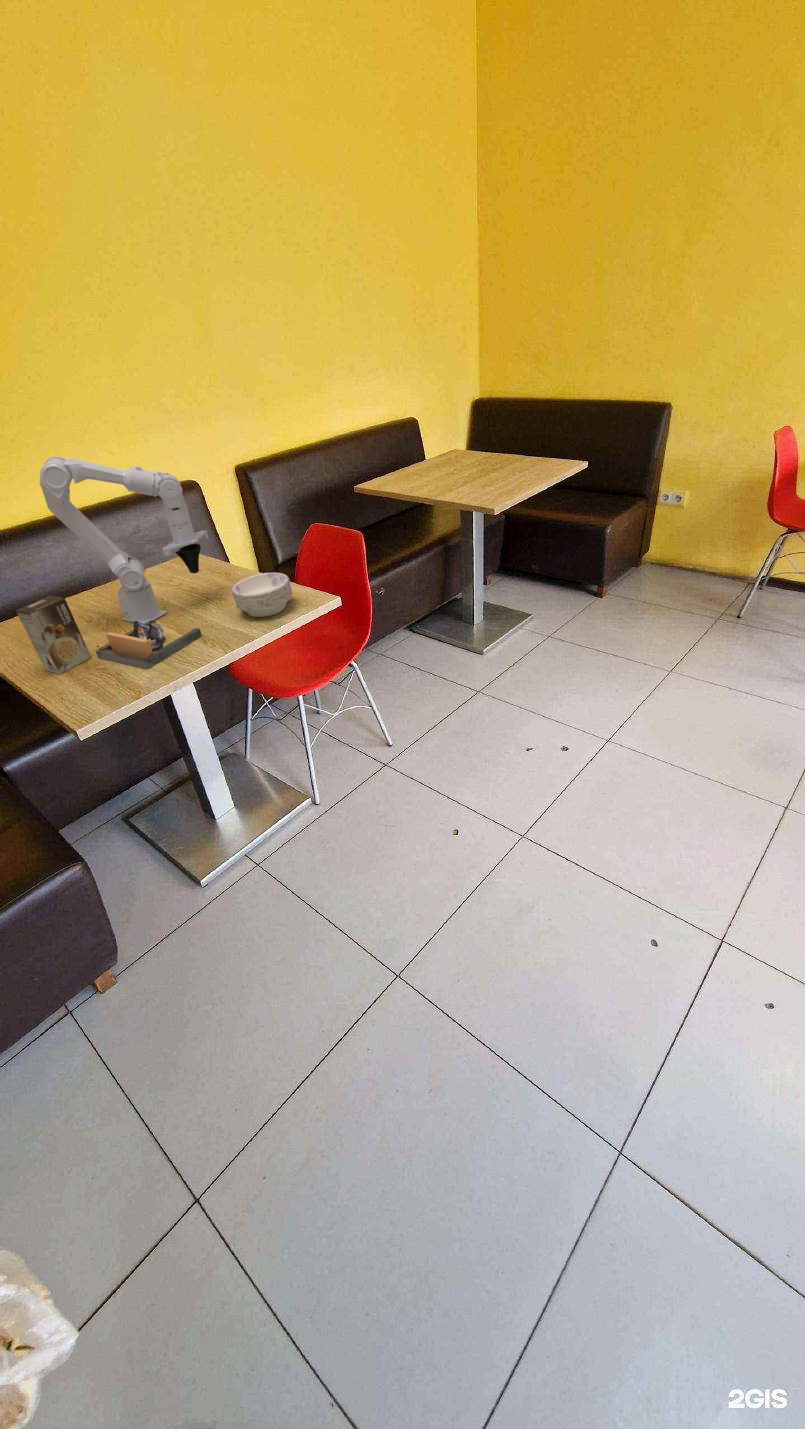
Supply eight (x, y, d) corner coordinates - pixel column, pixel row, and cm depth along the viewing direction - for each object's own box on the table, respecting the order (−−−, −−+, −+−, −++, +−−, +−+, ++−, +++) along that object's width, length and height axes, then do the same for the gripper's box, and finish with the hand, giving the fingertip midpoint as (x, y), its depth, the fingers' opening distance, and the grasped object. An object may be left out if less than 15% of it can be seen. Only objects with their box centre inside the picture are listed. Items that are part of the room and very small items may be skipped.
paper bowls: (227, 615, 170) (219, 587, 165) (270, 594, 179) (264, 568, 174) (262, 627, 161) (255, 598, 156) (306, 605, 170) (300, 577, 165)
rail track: (98, 657, 156) (95, 650, 155) (153, 626, 168) (151, 619, 167) (147, 669, 147) (144, 662, 146) (202, 635, 160) (199, 628, 159)
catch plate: (113, 652, 157) (105, 634, 154) (117, 649, 158) (109, 631, 155) (151, 660, 150) (144, 642, 148) (155, 658, 151) (148, 640, 148)
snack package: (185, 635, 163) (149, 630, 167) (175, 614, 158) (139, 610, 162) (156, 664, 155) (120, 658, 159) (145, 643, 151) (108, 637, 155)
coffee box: (77, 653, 159) (50, 594, 150) (92, 657, 156) (66, 597, 147) (44, 670, 153) (14, 609, 144) (59, 675, 150) (30, 613, 141)
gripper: (169, 532, 159) (185, 583, 166) (210, 515, 169) (223, 564, 176) (150, 531, 162) (167, 581, 169) (191, 514, 172) (205, 561, 179)
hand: (194, 572), depth 173 cm, fingers closed
